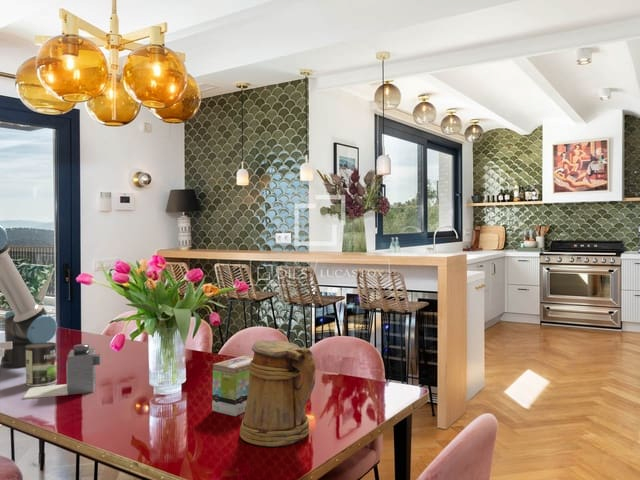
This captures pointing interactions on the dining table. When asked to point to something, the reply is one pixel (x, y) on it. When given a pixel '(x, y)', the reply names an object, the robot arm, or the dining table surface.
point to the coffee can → (41, 364)
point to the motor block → (81, 369)
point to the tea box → (231, 385)
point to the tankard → (278, 394)
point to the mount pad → (46, 391)
